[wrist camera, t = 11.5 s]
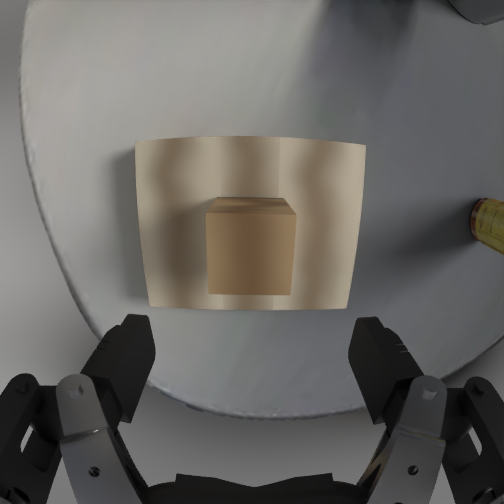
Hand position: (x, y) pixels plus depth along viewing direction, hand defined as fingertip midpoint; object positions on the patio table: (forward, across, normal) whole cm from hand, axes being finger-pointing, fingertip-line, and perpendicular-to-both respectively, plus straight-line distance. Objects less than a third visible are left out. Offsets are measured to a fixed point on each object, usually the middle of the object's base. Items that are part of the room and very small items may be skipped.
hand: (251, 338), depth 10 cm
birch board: (+18, 0, 0) cm, 18 cm away
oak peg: (+18, 0, 0) cm, 18 cm away
